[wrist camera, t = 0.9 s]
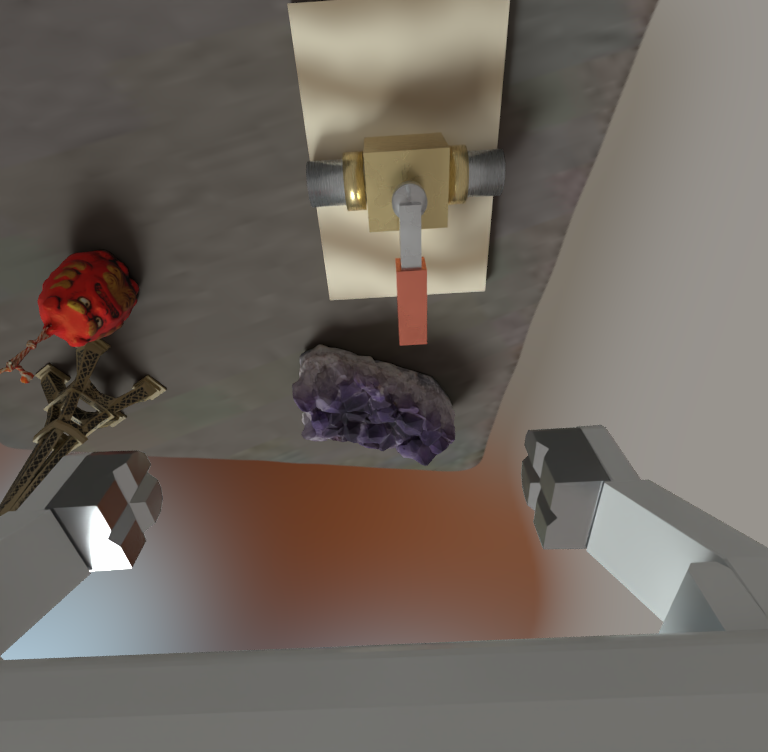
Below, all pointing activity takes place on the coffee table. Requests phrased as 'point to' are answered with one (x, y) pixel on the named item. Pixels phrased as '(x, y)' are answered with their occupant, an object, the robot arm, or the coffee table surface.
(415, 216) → the valve lever
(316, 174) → the valve body
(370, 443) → the geode
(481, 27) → the base board
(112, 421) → the eiffel tower
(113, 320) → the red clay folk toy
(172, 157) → the coffee table surface
